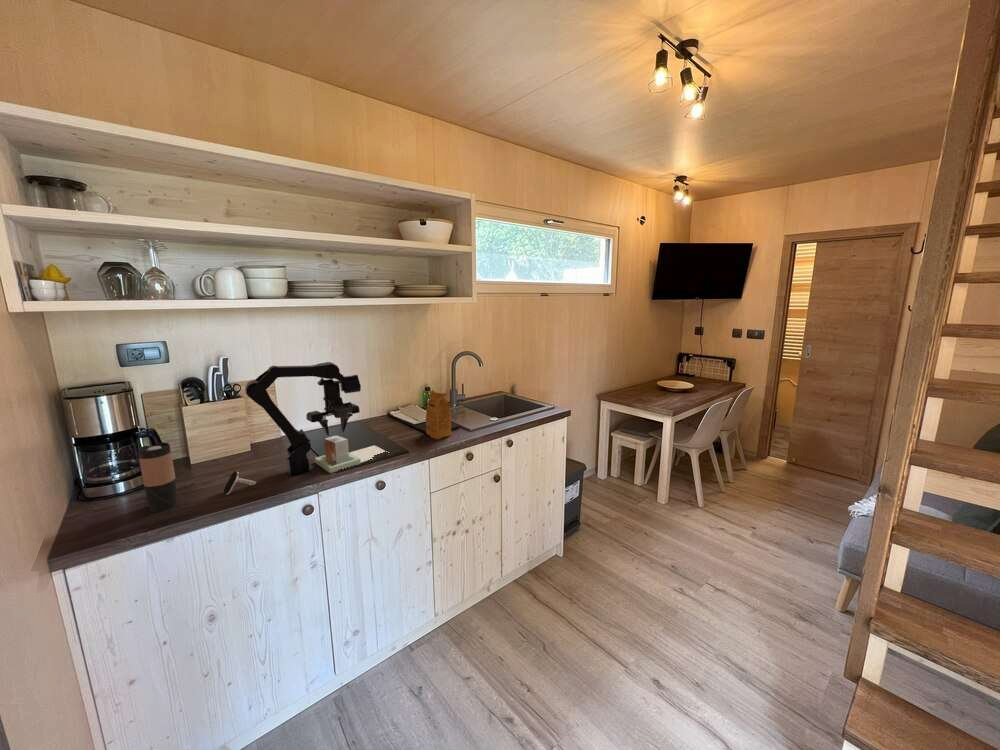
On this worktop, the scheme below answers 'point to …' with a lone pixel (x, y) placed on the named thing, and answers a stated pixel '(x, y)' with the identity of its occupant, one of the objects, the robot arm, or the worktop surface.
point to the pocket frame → (322, 462)
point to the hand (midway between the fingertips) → (335, 433)
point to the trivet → (367, 453)
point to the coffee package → (438, 416)
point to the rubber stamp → (233, 480)
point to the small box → (336, 450)
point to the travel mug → (158, 476)
